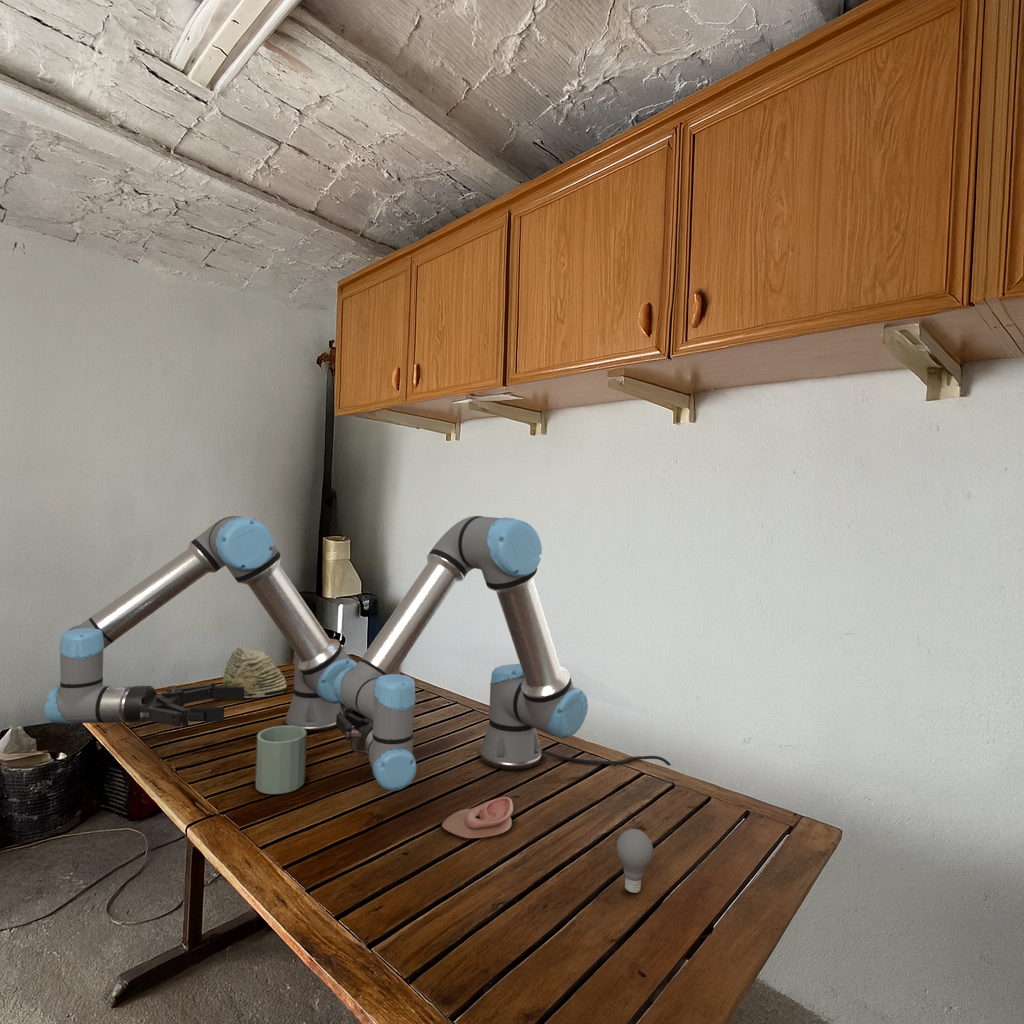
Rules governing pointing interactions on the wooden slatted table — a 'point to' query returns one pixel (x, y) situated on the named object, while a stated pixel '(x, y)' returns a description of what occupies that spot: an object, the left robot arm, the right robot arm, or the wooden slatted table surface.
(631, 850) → the light bulb
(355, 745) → the tumbler
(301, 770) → the pot
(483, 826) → the anatomical model
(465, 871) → the wooden slatted table surface
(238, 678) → the fossil
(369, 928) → the wooden slatted table surface
